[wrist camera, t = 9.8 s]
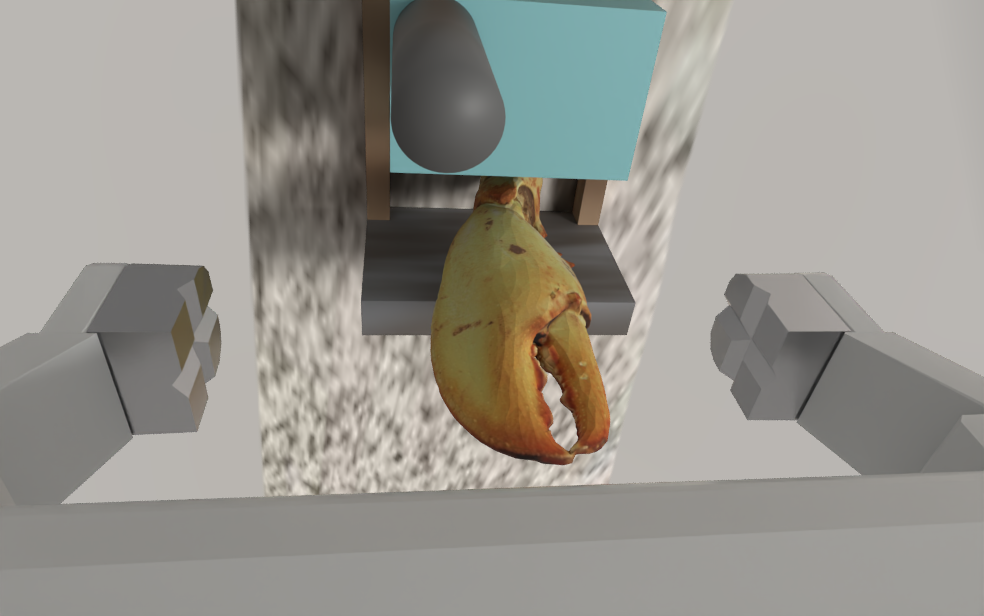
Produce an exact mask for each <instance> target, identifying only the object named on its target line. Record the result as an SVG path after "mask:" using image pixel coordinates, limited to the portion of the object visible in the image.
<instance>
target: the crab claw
mask: <svg viewBox="0 0 984 616" xmlns="http://www.w3.org/2000/svg"><path fill="white" fill-rule="evenodd" d="M542 182H543V179H542V178H539V177H510V176H481V179H480V185H479V190H478V192H477V194H476V197H475V202H474V208H473V213H472V214H471V215H470V216H469V218H468V219H467V220H466V222H465V223H464V224H463V225H462V226H461V228H460V229H459V231H458V232H457V234H456V236H455V237H454V239H453V241H452V243H451V245H450V248H449V251H448V254H447V257H446V260H445V264H444V269H443V275H442V281H441V284H440V289H439V293H438V299H437V300H436V303H435V307H434V311H433V316H432V323H431V349H430V350H431V361H432V366H433V371H434V376H435V380H436V383H437V385H438V387H439V392H440V394H441V397H442V399H443V401H444V402H445V404H446V406H447V407H448V409H449V411H450V412H451V414H452V415H453V416H454V418H455V419H456V420H457V421H458V422H459V423H460V424H461V425H462V426H463V427H464V428H465V429H466V430H467V431H468V432H469V433H470V434H471V435H472V436H474V437H475V438H476V439H477V440H479V441H480V442H481V443H483V444H485V445H487V446H488V447H490V448H492V449H493V450H495V451H498V452H500V453H503V454H506V455H508V456H511V457H514V458H517V459H525V460H533V461H538V462H540V463H543V464H555V465H566V464H570V463H572V462H573V459H574V457H575V455H576V454H590V453H593V452H596V451H598V450H600V449H601V448H602V447H603V446H604V444H605V443H606V442H607V439H608V434H609V427H610V414H609V409H608V405H607V400H606V394H605V390H604V386H603V382H602V378H601V375H600V372H599V369H598V365H597V362H596V359H595V356H594V353H593V350H592V346H591V342H590V339H589V336H588V333H587V330H586V329H587V328H589V326H590V323H591V313H590V310H589V308H588V306H587V301H586V298H585V295H584V292H583V290H582V287H581V285H580V283H579V281H578V279H577V277H576V275H575V274H574V272H573V271H572V269H571V268H572V267H574V266H575V264H574V263H571V262H568V261H566V260H565V259H563V258H561V255H562V254H561V253H559V252H556V251H555V250H554V249H553V248H552V246H551V245H550V244H549V243H548V242H547V241H546V240H545V239H544V238H545V237H547V236H548V235H547V234H546V232H545V230H544V227H543V226H542V224H541V221H540V219H539V211H540V191H541V187H542ZM534 357H536V358H534ZM540 366H541V367H542V368H543V369H544V370H545V371H546V372H548V373H551V374H552V375H553V377H554V378H555V379H556V381H557V382H558V384H559V386H560V388H561V390H562V393H563V395H562V396H561V398H560V402H561V403H562V404H563V405H564V406H565V407H566V408H568V409H569V410H570V411H571V412H572V415H573V417H574V419H575V424H576V428H577V436H578V441H577V442H576V443H575V444H574V445H573V447H572V448H571V449H570V451H567V450H565V449H564V448H563V447H561V446H560V445H559V444H557V443H556V442H555V440H554V439H553V437H552V435H551V431H550V430H549V427H550V426H551V425H552V424H553V415H552V413H551V411H550V408H549V406H548V405H547V404H546V402H545V401H544V397H543V393H541V392H542V390H543V388H544V386H545V385H546V383H547V374H546V372H545V371H544V370H543V369H542V368H541V367H540Z"/></svg>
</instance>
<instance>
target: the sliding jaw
mask: <svg viewBox="0 0 984 616" xmlns="http://www.w3.org/2000/svg"><path fill="white" fill-rule="evenodd" d="M666 13H667V12H666V11H665V10H663V9H662V8H661V7H659V6H658V5H657V4H655V3H654V2H653V1H651V0H390V172H394V173H423V174H452V175H481V176H510V177H539V178H568V179H596V180H625V181H628V176H629V172H630V168H631V164H632V159H633V155H634V151H635V146H636V142H637V138H638V133H639V129H640V125H641V121H642V116H643V112H644V108H645V103H646V99H647V95H648V90H649V86H650V82H651V77H652V73H653V69H654V65H655V60H656V56H657V52H658V47H659V43H660V39H661V34H662V30H663V26H664V22H665V17H666Z"/></svg>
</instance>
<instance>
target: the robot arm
mask: <svg viewBox="0 0 984 616" xmlns="http://www.w3.org/2000/svg"><path fill="white" fill-rule="evenodd" d="M212 292H213V289H212V285H211V281H210V276H209V272H208V271H207V270H206V269H205V267H204V266H190V265H160V264H127V263H93V264H90V265H86V266H85V268H84V269H83V270H82V272H81V273H80V275H79V276H78V278H77V279H76V280H75V282H74V283H73V285H72V286H71V288H70V289H69V291H68V292H67V294H66V295H65V297H64V298H63V299H62V301H61V303H60V304H59V305H58V307H57V308H56V310H55V311H54V313H53V314H52V315H51V317H50V318H49V320H48V321H47V323H46V324H45V326H44V327H43V329H42V330H41V332H40V333H27V334H25V335H23V336H21V337H19V338H17V339H15V340H13V341H11V342H9V343H7V344H5V345H3V346H2V347H0V616H984V377H983V376H981V375H979V374H977V373H975V372H973V371H971V370H969V369H967V368H965V367H963V366H961V365H958V364H956V363H955V362H953V361H951V360H948V359H946V358H944V357H942V356H940V355H938V354H936V353H934V352H932V351H930V350H928V349H926V348H924V347H922V346H920V345H918V344H916V343H914V342H912V341H910V340H908V339H906V338H904V337H901V336H900V335H898V334H896V333H893V332H884V331H883V330H882V329H881V328H880V327H879V326H878V325H877V324H876V322H875V321H874V320H873V319H872V318H871V317H870V316H869V315H868V314H867V313H866V312H865V311H864V310H863V308H862V307H861V306H860V305H859V304H858V303H857V302H856V301H855V300H854V299H853V298H852V297H851V296H850V295H849V293H848V292H847V291H846V290H845V289H844V288H843V287H842V286H841V285H840V284H839V283H838V282H837V281H836V280H835V278H834V277H833V276H831V275H829V274H826V273H824V272H815V273H791V274H790V273H786V274H785V273H784V274H735V276H734V277H733V278H732V279H731V280H730V282H729V284H728V287H727V289H726V292H725V294H724V295H725V297H726V299H727V302H728V304H729V306H728V307H727V308H725V309H724V310H723V311H722V312H721V313H720V314H718V315H717V316H716V318H715V321H714V324H713V327H712V330H711V352H712V356H713V360H714V362H715V364H716V366H717V367H718V369H719V371H720V372H722V373H723V374H725V375H726V376H728V377H729V378H731V379H732V380H734V382H733V384H732V387H731V392H732V394H733V396H734V398H735V399H736V401H737V403H738V404H739V406H740V408H741V409H742V411H743V413H744V415H745V417H746V418H747V420H798V421H797V423H798V424H799V425H800V426H802V427H803V428H804V429H805V430H807V431H808V432H809V433H810V434H812V435H813V436H814V437H815V438H817V439H818V440H819V441H820V442H822V443H823V444H824V445H825V446H827V447H828V448H829V449H830V450H832V451H833V452H834V453H835V454H837V455H838V456H839V457H840V458H841V459H843V460H844V461H845V462H846V463H848V464H849V465H850V466H851V467H853V468H854V469H855V470H856V471H858V472H859V473H860V474H861V476H832V477H803V478H777V479H776V478H774V479H747V480H746V479H744V480H717V481H689V482H659V483H658V482H657V483H629V484H601V485H574V486H547V487H521V488H494V489H467V490H440V491H413V492H385V493H357V494H329V495H301V496H273V497H245V498H217V499H189V500H161V501H133V502H108V503H107V502H105V503H77V504H61V503H62V502H63V501H64V500H65V499H66V498H67V497H68V496H69V495H70V494H71V493H73V492H74V491H75V490H76V489H77V488H78V487H79V486H80V485H81V484H83V483H84V482H85V481H86V480H87V479H88V478H89V477H90V476H92V475H93V474H94V473H95V472H96V471H97V470H98V469H99V468H100V467H101V466H102V465H104V464H105V463H106V462H107V461H108V460H109V459H110V458H111V457H112V456H114V454H116V453H117V452H118V451H119V450H120V449H121V448H122V447H123V446H125V445H126V444H127V443H128V442H129V441H130V440H131V439H132V438H133V436H132V435H139V434H140V435H141V434H161V433H183V432H197V431H198V428H199V425H200V422H201V419H202V415H203V412H204V409H205V406H206V403H207V400H208V395H207V390H206V385H205V383H206V382H208V381H209V380H211V379H212V378H213V377H215V375H216V372H217V368H218V365H219V361H220V351H221V331H220V324H219V319H218V315H217V314H216V313H215V312H214V311H213V310H212V309H210V308H209V307H208V306H207V305H208V302H209V299H210V297H211V294H212Z"/></svg>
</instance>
